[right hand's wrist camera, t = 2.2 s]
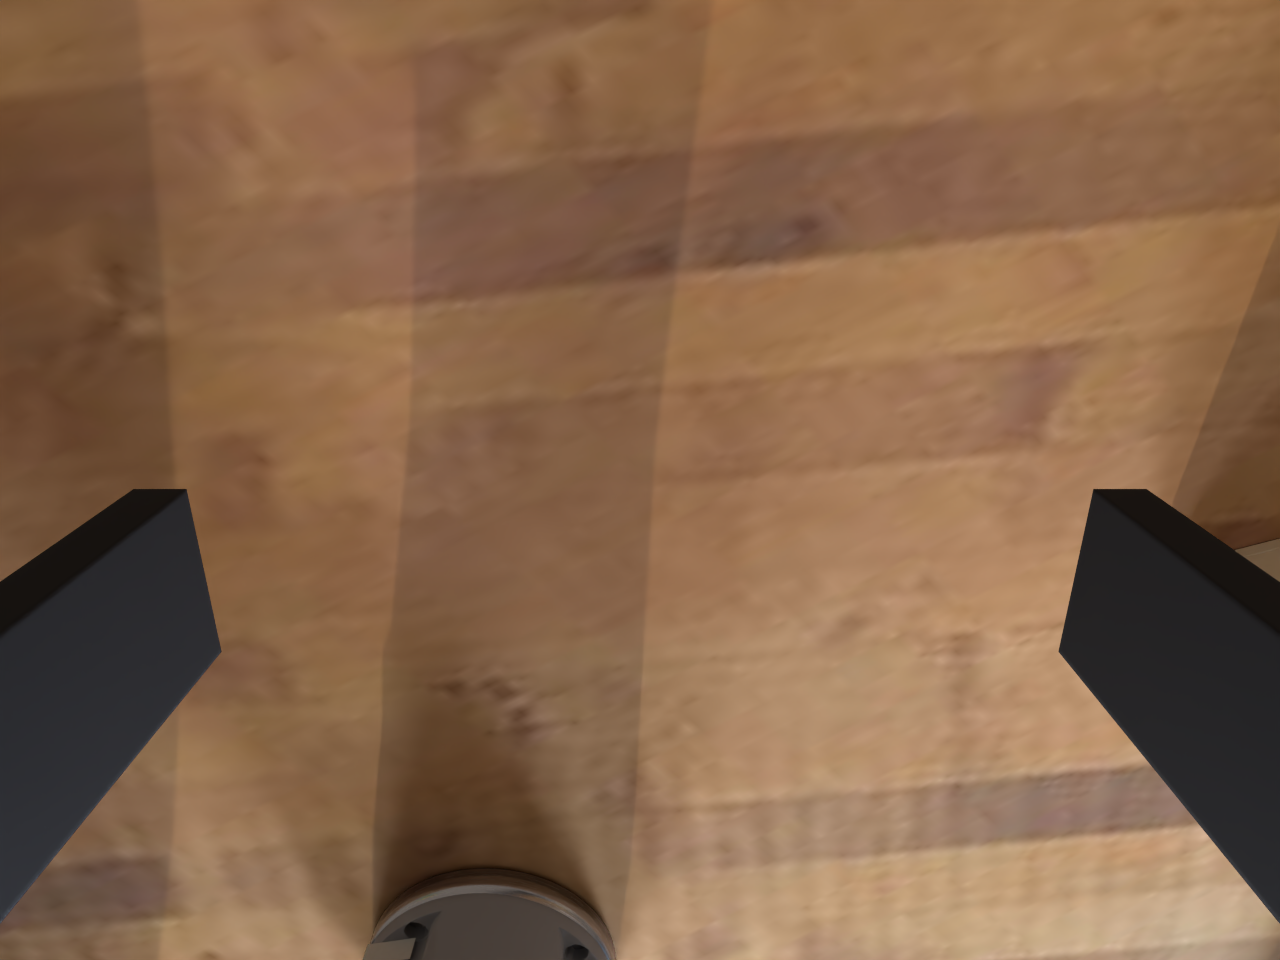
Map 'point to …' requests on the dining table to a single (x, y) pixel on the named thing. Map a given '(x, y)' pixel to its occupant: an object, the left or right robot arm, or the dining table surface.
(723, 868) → the dining table surface
